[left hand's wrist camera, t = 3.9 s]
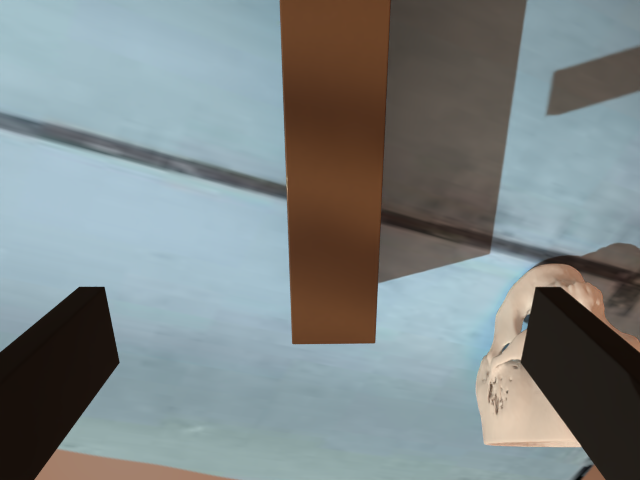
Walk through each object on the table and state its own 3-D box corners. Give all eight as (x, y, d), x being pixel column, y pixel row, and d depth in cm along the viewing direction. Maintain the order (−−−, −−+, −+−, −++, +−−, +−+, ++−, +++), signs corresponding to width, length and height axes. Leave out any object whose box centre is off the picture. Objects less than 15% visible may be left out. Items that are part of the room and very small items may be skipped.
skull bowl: (648, 250, 29) (753, 441, 22) (546, 334, 40) (592, 478, 33) (501, 240, 29) (558, 431, 21) (439, 327, 40) (462, 473, 32)
